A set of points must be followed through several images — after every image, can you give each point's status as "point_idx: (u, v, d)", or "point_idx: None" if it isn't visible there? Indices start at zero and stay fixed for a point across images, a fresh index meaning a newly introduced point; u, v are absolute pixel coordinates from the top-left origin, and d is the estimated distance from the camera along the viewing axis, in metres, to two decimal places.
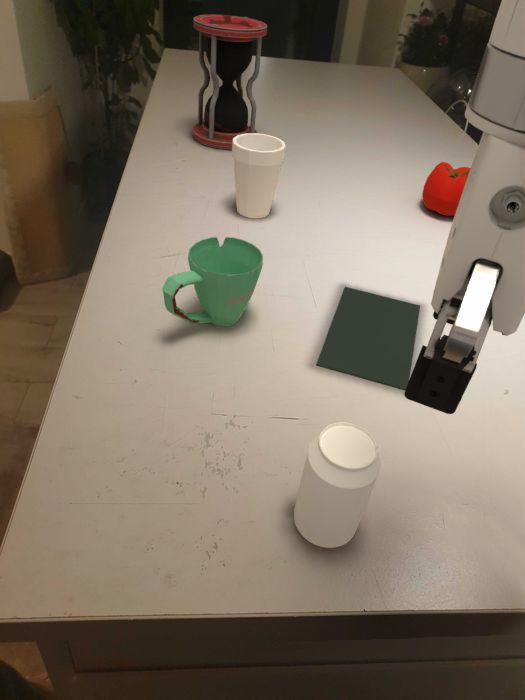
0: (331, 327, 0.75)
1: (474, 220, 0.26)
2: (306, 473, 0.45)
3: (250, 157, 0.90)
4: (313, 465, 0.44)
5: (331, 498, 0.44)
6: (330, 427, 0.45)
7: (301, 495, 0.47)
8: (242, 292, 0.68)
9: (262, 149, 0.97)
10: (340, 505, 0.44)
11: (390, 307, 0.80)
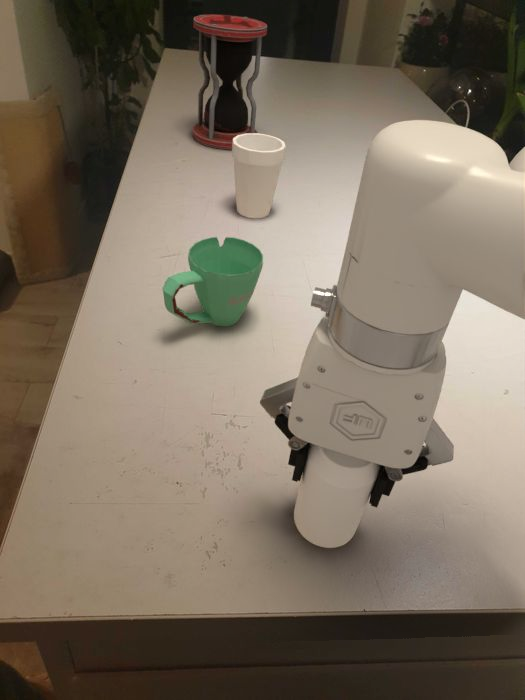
0: None
1: None
2: (306, 473, 0.45)
3: (250, 157, 0.90)
4: (313, 465, 0.44)
5: (331, 498, 0.44)
6: None
7: (301, 495, 0.47)
8: (242, 292, 0.68)
9: (262, 149, 0.97)
10: (340, 505, 0.44)
11: None
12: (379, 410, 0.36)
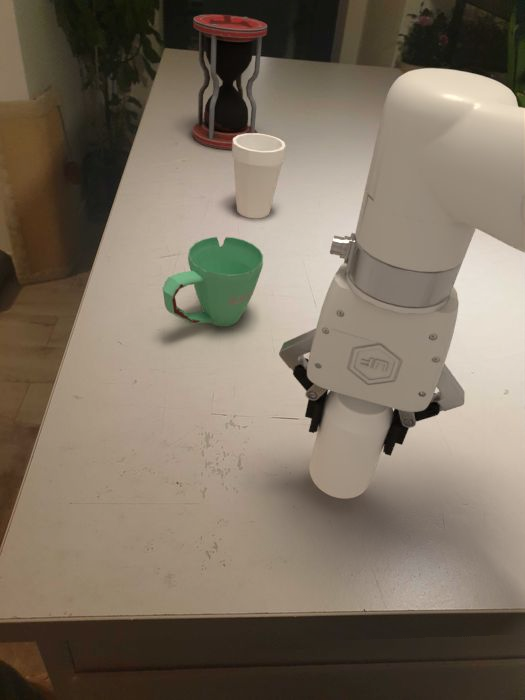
0: None
1: None
2: (323, 423, 0.47)
3: (250, 157, 0.90)
4: (330, 414, 0.46)
5: (347, 446, 0.46)
6: None
7: (317, 447, 0.49)
8: (242, 292, 0.68)
9: (262, 149, 0.97)
10: (356, 453, 0.46)
11: None
12: (395, 352, 0.39)
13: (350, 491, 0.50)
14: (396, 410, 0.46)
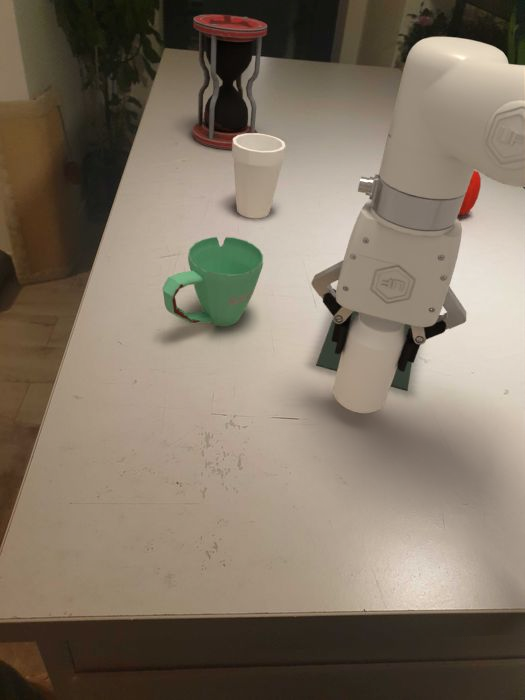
0: (331, 327, 0.75)
1: None
2: (347, 345, 0.56)
3: (250, 157, 0.90)
4: (353, 334, 0.54)
5: (368, 361, 0.55)
6: None
7: (341, 367, 0.58)
8: (242, 292, 0.68)
9: (262, 149, 0.97)
10: (375, 368, 0.55)
11: None
12: (410, 272, 0.47)
13: (369, 406, 0.59)
14: (409, 332, 0.55)
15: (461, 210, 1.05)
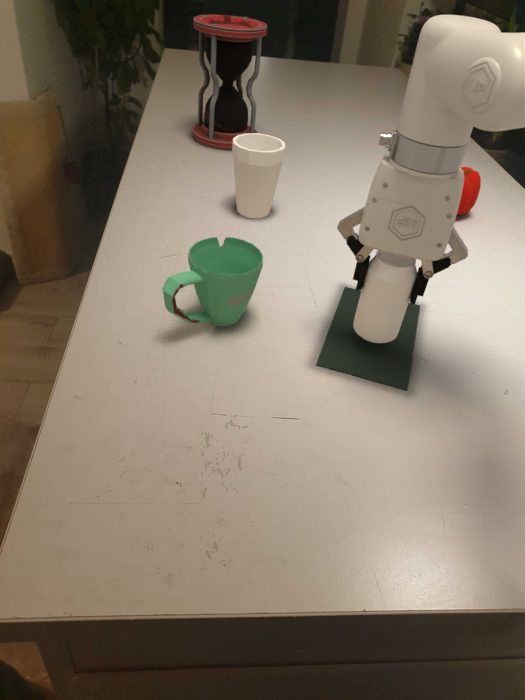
0: (331, 327, 0.75)
1: None
2: (366, 281, 0.66)
3: (250, 157, 0.90)
4: (372, 271, 0.65)
5: (385, 293, 0.65)
6: None
7: (361, 302, 0.68)
8: (242, 292, 0.68)
9: (262, 149, 0.97)
10: (391, 300, 0.65)
11: None
12: (421, 212, 0.57)
13: (384, 336, 0.69)
14: (419, 270, 0.65)
15: (461, 210, 1.05)
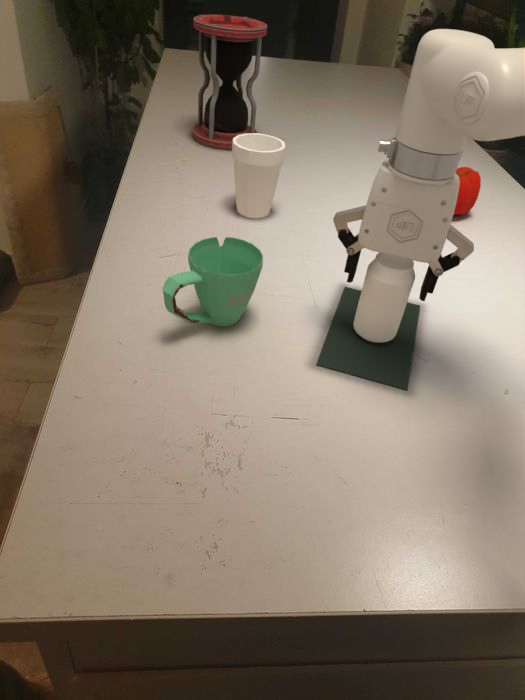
0: (331, 327, 0.75)
1: None
2: (366, 283, 0.69)
3: (250, 157, 0.90)
4: (372, 273, 0.67)
5: (384, 295, 0.67)
6: (382, 253, 0.69)
7: (361, 303, 0.71)
8: (242, 292, 0.68)
9: (262, 149, 0.97)
10: (389, 301, 0.68)
11: None
12: (418, 216, 0.60)
13: (383, 335, 0.71)
14: (429, 268, 0.67)
15: (461, 210, 1.05)
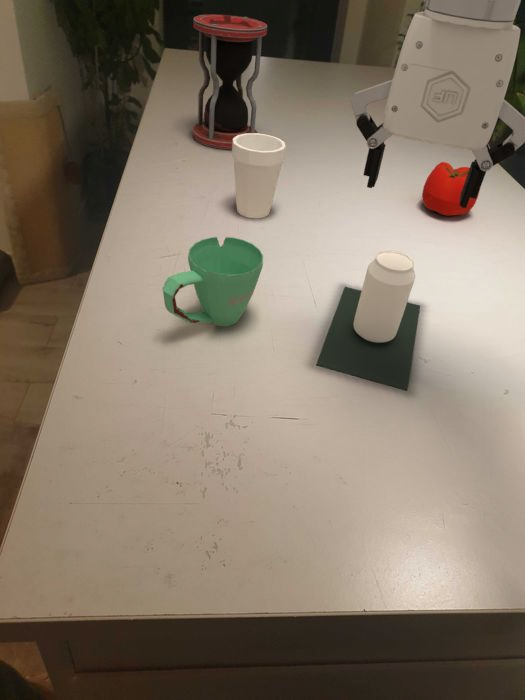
0: (331, 327, 0.75)
1: None
2: (366, 283, 0.69)
3: (250, 157, 0.90)
4: (372, 273, 0.67)
5: (384, 295, 0.67)
6: (382, 253, 0.69)
7: (361, 303, 0.71)
8: (242, 292, 0.68)
9: (262, 149, 0.97)
10: (389, 301, 0.68)
11: None
12: (464, 79, 0.46)
13: (383, 335, 0.71)
14: (472, 164, 0.53)
15: (461, 210, 1.05)
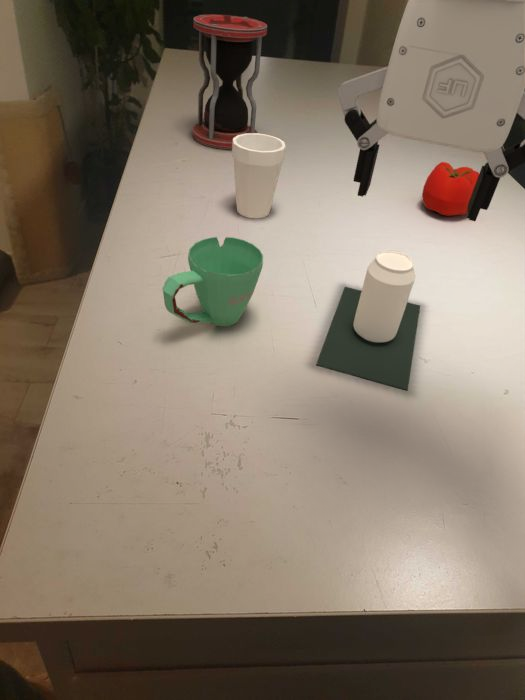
0: (331, 327, 0.75)
1: None
2: (366, 283, 0.69)
3: (250, 157, 0.90)
4: (372, 273, 0.67)
5: (384, 295, 0.67)
6: (382, 253, 0.69)
7: (361, 303, 0.71)
8: (242, 292, 0.68)
9: (262, 149, 0.97)
10: (389, 301, 0.68)
11: None
12: (477, 66, 0.37)
13: (383, 335, 0.71)
14: (483, 169, 0.44)
15: (461, 210, 1.05)
